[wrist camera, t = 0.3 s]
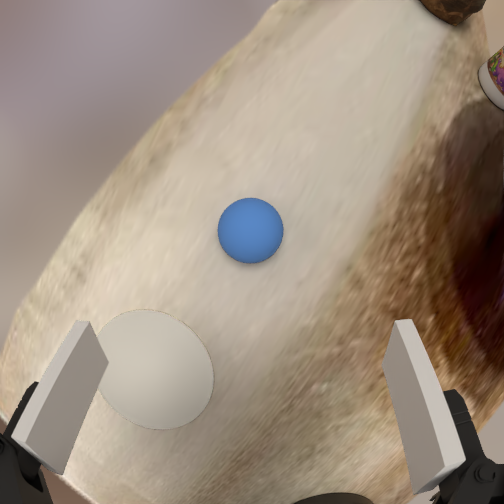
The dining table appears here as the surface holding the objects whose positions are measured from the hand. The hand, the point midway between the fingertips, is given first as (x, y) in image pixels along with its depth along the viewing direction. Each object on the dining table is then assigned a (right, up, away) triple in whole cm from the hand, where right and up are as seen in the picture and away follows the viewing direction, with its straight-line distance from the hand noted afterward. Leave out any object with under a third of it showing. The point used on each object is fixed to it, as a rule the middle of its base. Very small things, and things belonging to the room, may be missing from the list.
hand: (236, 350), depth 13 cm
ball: (+1, +6, +14) cm, 16 cm away
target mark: (-10, -8, +16) cm, 21 cm away
